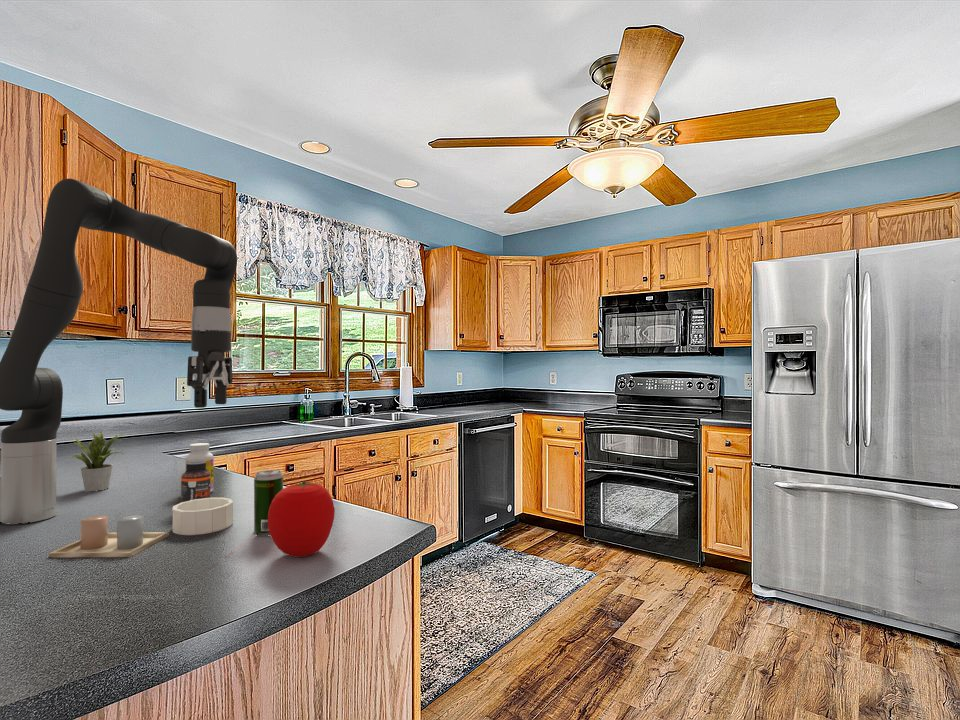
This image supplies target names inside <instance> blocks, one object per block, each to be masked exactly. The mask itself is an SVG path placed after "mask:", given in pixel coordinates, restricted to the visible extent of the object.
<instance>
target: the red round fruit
mask: <svg viewBox="0 0 960 720" xmlns="http://www.w3.org/2000/svg"><path fill="white" fill-rule="evenodd" d="M315 482H316V481H314V482H311V481H308V482H306V480H302V482H298V483H294V484H291V485H288V486H285V487H283V489H282V490H281V491H280V492H279V493H278V494H277V495H276V496H275V497H274V499H273V500H272V503H271V505H270V508H269V513H268V528H269V533H270V535H271V536H270V537H271V539H272V541H273V543H274V545H275V546H276V547H277V549H278V550H280V551H281V553H283V554H285V555H288V556H291V557H295V558H296V557H298V558H301V557H302V558H303V557H308V556H311V555H315V554H316V553H318V552H319V551H320V550H321V549H322V548H323V547H324V546H325V544H326V542H327V540H328V538H329V536H330V534H331V530H332V527H333V525H334V524H333V523H334V520H335V514H336V513H335V510H336V509H335V504H334V500H333V497H332V495H331V493H330V492H329V491H328V489H327V488H326V487H324V486H323V485H322V484H319V483H315Z"/></svg>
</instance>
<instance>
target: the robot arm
mask: <svg viewBox="0 0 960 720" xmlns="http://www.w3.org/2000/svg"><path fill="white" fill-rule="evenodd" d="M43 221H44V222H43V228H42V234H41V238H40V242H39V247H38V250H37V254H36V258H35V261H34V265H33V268H32V271H31V274H30V278H29V279H28V282H27V285H26V289H25V290H24V296H23V297H22V298H23V299H22V302H21V307H20V309H19V310H20V311H19V313H18V316H17V319H16V322H15V325H14V328H13V331H12V334H11V337H10V338H9V342H8V344H7V347H6V349H5V351H4V353H3V355H2V357H1V359H0V410H3V411H10V412H11V411H13V412H15V411H21V415H20V416H19V418H18V419H17V420H16V421H15V422H14V423H12V424H10V425H8V426H6V427H4V428H3V429H2V431H1V433H0V441H1V442H0V522H2V523H10V524H9V525H19V524H18V523H22V524H28V522H30V523H35V522H40V521H43V520H47V519H50V518H53V517H55V516H56V515H57V437H58V436H57V435H58V434H57V432H58V429H59V428H60V426H61V421H62V414H63V412H62V411H63V398H64V397H63V396H64V395H63V394H64V392H63V391H64V389H63V383H62V379H61V377H60V375H59V374H58V373H57V372H56V371H55V370H53V369H51V368H48V367H39V366H38V365H39V363H40V360H41V357H42V355H43V354H44V352H45V351H46V349H47V348H48V347H49V345H51V343H52V342H54V340H55V339H56V338H57V337H58V336H59V335H60V334H61V333H62V332H64V331H65V329H66V328H67V327H68V326H69V325H70V324H71V323H72V321H73V320H74V318H75V316H76V314H77V311H78V309H79V305H80V301H81V299H82V295H83V291H84V290H83V289H84V285H83V283H84V282H83V279H82V274H81V271H80V268H79V264H78V260H77V255H76V245H77V239H78V234H79V232H80V228H83V229H87V230H92V231H100V232H105V233H107V232H108V233H113V234H117V235H121V236H126V237H129V238H130V239H134V240H135V241H137V242H140V243H141V244H144V245H145V246H147V247H149V248H152V249H155V250H157V251H160V252H162V253H165V254H168V255H171V256H174V257H178V258H180V259H182V260H184V261H186V262H189V263H191V264H193V265H196V266H199V267H203V268H205V273H204V277H203V279H199V280H197V281H195V282H194V284H193V288H192V294H193V295H192V314H191V321H190V323H191V325H190V326H191V328H190V329H191V332H190V333H191V338H190V339H191V340H190V343H191V344H190V345H191V347H190V348H191V349H190V350H191V351H192V352H194V353H195V352H196V353H197V356H196V355H194V356H188V357H187V374H186V375H187V376H186V378H187V379H186V385H187V387H191V388H192V389H193V390H194V391H193V392H194V393H193V395H194V397H193V400H194V401H193V406H194V408H198V409H199V408H200V409H202V408H207V405H208V389H207V388H208V385H209V383H210V381H213V383H214V386H215V387H214V404H215V405H226V404H227V401H228V400H227V395H228V394H227V389H228V387H229V385H230V384H231V385H232V383H233V358H232V357H231V356H229V357H227V356H225V353H229V352H231V351H232V317H231V309H230V308H231V288H232V284H233V282H234V278H235V273H236V270H237V265H238V255H237V250H236V248H235V247H234V245H233V244H232V243H231V242H230V241H229V240H226V239H224V238H221V237H218V236H216V235H214V234H211V233H209V232H205V231H202V230H199V229H196V228H193V227H189V226H188V225H185V224H182V223H180V222H177V221H174V220H172V219H168V218H165V217H163V216H160V215H157V214H153V213H148V212H143V211H140V210H138V209H134V208H133V207H130V205H129V206H128V205H127V204H125V203H123V202H122V201H120V200H118V199H116V198H115V197H113V196H112V195H110V194H108V193H107V192H106V191H103V190H102V189H99V188H97V187H95V186H92V185H90V184H87V183H85V182H82V181H81V180H77V179H74V178H64V179H62V180H59V181H58V182H57V183H55V185H54V187H53V188H52V190H51V192H50V194H49V197H48V200H47V205H46V211H45V217H44V220H43ZM193 378H194V379H193ZM2 523H1V524H2Z"/></svg>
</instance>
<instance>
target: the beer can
mask: <svg viewBox="0 0 960 720" xmlns="http://www.w3.org/2000/svg"><path fill="white" fill-rule="evenodd" d="M282 472H283V471H282V470H280V469H279V470H278V469H267V470H261V471H257V472H255V476H254V479H253V487H254V488H253V501H254V502H253V515H254V516H253V517H254V518H253V531H254V534H255V535H256V536H258V535H259V536H258V537H269V536H268V535H270V533H269V528H268V513H269V508H270V505H271V503H272V500H273V499H274V497H275V496H276V495H277V494H278V493H279V492H280V491H281V490H282V489H284V475H283V473H282Z"/></svg>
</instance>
